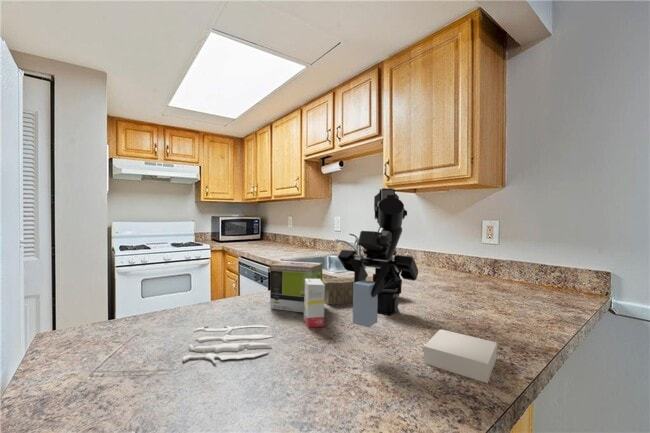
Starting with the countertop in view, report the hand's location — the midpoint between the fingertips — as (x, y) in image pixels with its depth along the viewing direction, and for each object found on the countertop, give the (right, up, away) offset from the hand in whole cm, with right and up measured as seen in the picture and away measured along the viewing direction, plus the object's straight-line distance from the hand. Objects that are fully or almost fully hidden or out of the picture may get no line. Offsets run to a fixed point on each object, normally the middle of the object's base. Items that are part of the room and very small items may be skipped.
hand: (363, 294), depth 66 cm
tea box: (-18, -13, +33) cm, 40 cm away
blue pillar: (0, -7, +1) cm, 7 cm away
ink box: (-12, -13, +20) cm, 27 cm away
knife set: (-38, -14, +5) cm, 41 cm away
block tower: (+4, -14, +44) cm, 46 cm away
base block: (+21, -14, -2) cm, 25 cm away
